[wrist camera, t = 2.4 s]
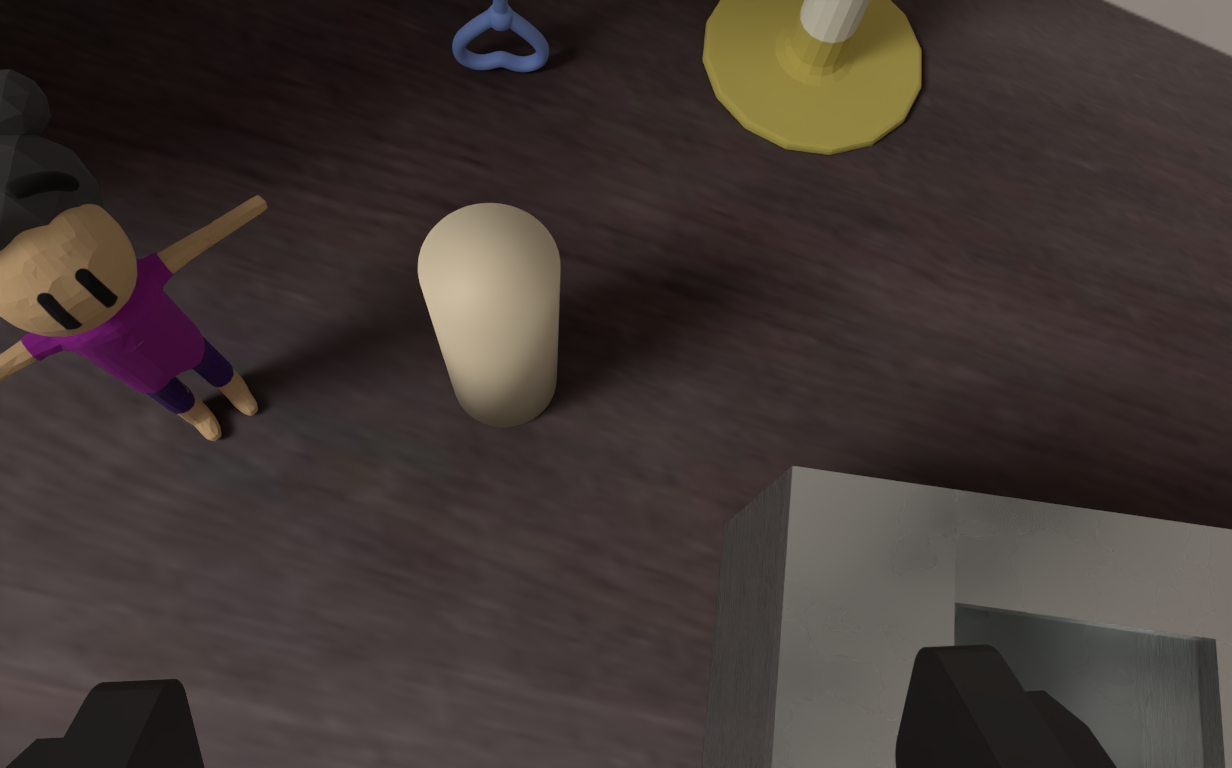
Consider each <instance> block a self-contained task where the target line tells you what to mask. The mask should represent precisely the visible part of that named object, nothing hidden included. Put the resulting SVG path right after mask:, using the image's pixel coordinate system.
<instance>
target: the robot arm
mask: <svg viewBox="0 0 1232 768" xmlns="http://www.w3.org/2000/svg"><path fill="white" fill-rule="evenodd" d="M895 761H896V768H1117V767H1116V765H1115V764H1114V763H1113V761H1112V760H1111V758H1110V757H1109V755H1108V754H1107V753H1106V751H1105V750H1104V748H1103V747H1102V746H1101V744H1100V743H1099V741H1098V740H1097V738H1096V737H1095V736H1094V734H1093V733H1092V731H1091V730H1090V728H1089V727H1088V726H1087V725H1086V724H1085V723H1084V722H1082V721H1081V720H1080V719H1079V718H1077V717H1076V716H1075V715H1074V714H1073V713H1071V712H1070V711H1069V710H1068V709H1066V708H1065V707H1064V706H1063V705H1062V704H1060V703H1059V702H1058V701H1057V700H1055V699H1054V698H1053V697H1052V696H1051V695H1049V694H1048V693H1047V692H1046V691H1044V690H1038V691H1025V690H1024V689H1023V687H1022V686H1021V684H1020V683H1019V681H1018V679H1017V678H1016V676H1015V675H1014V673H1013V672H1012V670H1011V669H1010V667H1009V666H1008V664H1007V663H1006V661H1005V660H1004V658H1003V657H1002V655H1001V654H1000V653H999V651H998V650H997V649H995V648H994V647H993V646H991V645H988V644H980V645H959V646H937V647H923V648H921V649H920V650H919V651H918V653H917V655H916V657H915V661H914V665H913V669H912V674H911V678H910V683H909V687H908V692H907V696H906V700H905V705H904V709H903V714H902V718H901V722H900V727H899V731H898V736H897V741H896V749H895ZM6 768H204V764H203V760H202V756H201V752H200V748H199V744H198V740H197V736H196V732H195V728H194V724H193V720H192V716H191V712H190V708H189V704H188V700H187V696H186V693H185V689H184V687H183V685H182V683H181V682H180V681H179V680H177V679H166V680H145V681H123V682H102V683H100V684H98V685H96V686H95V687H94V688H93V689H92V690H91V691H90V692H89V694H88V696H87V697H86V699H85V700H84V702H83V704H82V706H81V707H80V709H79V711H78V713H77V715H76V716H75V718H74V720H73V722H72V723H71V725H70V727H69V729H68V730H67V732H66V734H65V736H64V738H46V739H36V740H35V741H34V742H33V743H32V744H31V745H30V746H29V747H28V748H26V749H25V750H24V751H23V752H22V753H21V754H20V755H19V756H18V757H17V758H16V759H14V760H13V761H12V762H11V763H10V764H9V765H8V766H7V767H6Z"/></svg>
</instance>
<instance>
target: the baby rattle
mask: <svg viewBox="0 0 1232 768" xmlns="http://www.w3.org/2000/svg"><path fill="white" fill-rule="evenodd" d="M491 27H492V28H493V29H495V30H497V31H505V30H507V29H509V28H510V29H511V30H513V31H514V32H516V33H517V34H519V35H520V36H521V37H522V38H524V39H525V40H526V41H527V42H528V43H530V44H531V45H532V46H533V47H534V49H535V50H536V52H535V53H534V54H532V55H530V56H516V55H513V54H511V53H508V52H505V51H496V52H492V53H488V54H475V53H472V52H470V51H468V50H467V49H466V46H467V45H468V43H469V42H471V41H472V40H473V39H474V38H476V37H477V36H478V35H480V34H481V33H483V32H484V31H486V30H488V29H489V28H491ZM452 50H453V54H454V57H455V58H456V60H457V61H458V62H459V63H460V64H462V65H463V66H465V67H467V68H470V69H474V70H491V69H495V68H499V67H503V68H506V69H509V70H511V71H515V72H532V71H535V70H538V69H540V68H541V67H543V66H544V65H545V64H546V62H547V60H548V57H549V46H548V43H547V41H546V39H545V38H544V36H543V35H542V34H541V33H540V32H539V31H538V30H537V29H536V28H535V27H534V26H533V25H531V24H530V23H529V22H528V21H526V20H525V19H524V18H522V17H521V16H520V15H518V14H517V13H515V12H514V11H512V9H511V7H510V6H509V5H508V0H493V5H491V6H490V8H489V9H488V10H487V11H485V12H483V13H481V14H480V15H478V16H477V17H475V18H474V19H472V20H471V21H469V22H468V23H467V24H466V25H464V26H463V27H462V28H461V29H460V30H459V31H458V32H457V33H456V35H455V37H454V39H453V43H452Z"/></svg>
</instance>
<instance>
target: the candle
mask: <svg viewBox="0 0 1232 768" xmlns="http://www.w3.org/2000/svg"><path fill="white" fill-rule="evenodd" d="M703 63H704V66H705V69H706V71H707V74H708V77H709V79H710V82H711V85H712V87H713V90H714V93H715V95H716V98H717V99H718V100H719V101H720V102H721V103H722V104H723V105H724V106H725V107H726V108H727V109H728V111H729V112H730V113H731V114H732V115H733V116H734V117H735V118H736V119H737V120H738V121H739V122H740V123H741V124H742V126H743V127H744V128H745V129H747V130H749V131H751V132H753V133H755V134H757V135H759V136H761V137H763V138H765V139H767V140H769V141H771V142H773V143H775V144H777V145H779V146H781V147H783V148H785V149H789V150H797V151H804V152H812V153H819V154H826V155H832V154H837V153H841V152H846V151H850V150H854V149H859V148H863V147H868V146H872V145H873V144H874V143H876V142H877V141H879V140H880V139H881V138H883V137H884V136H885V135H887V134H888V133H890V132H891V131H892V130H894V129H895V128H896V127H898V126H899V125H901V124H902V123H903V122H904V120H905V118H906V116H907V114H908V113H909V111H910V109H911V107H912V105H913V103H914V101H915V99H916V97H917V95H918V93H919V91H920V90H921V48H920V45H919V43H918V41H917V39H916V37H915V34H914V32H913V30H912V28H911V26H910V23H909V21H908V19H907V17H906V15H905V14H904V13H903V12H902V11H901V10H900V9H899V8H898V7H897V6H896V5H895V4H894V3H893V2H892V1H891V0H720V2H719V3H718V5H717V6H716V8H715V9H714V11H713V13H712V14H711V16H710V17H709V19H708V20H707V23H706V30H705V40H704V51H703Z"/></svg>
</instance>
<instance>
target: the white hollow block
mask: <svg viewBox="0 0 1232 768" xmlns="http://www.w3.org/2000/svg"><path fill="white" fill-rule="evenodd" d="M980 644H988V645H991V646H993V647H994V648H995V649H997V650H998V651H999V653H1000V654H1001V655H1002V657H1003V658H1004V660H1005V661H1006V663H1007V664H1008V666H1009V667H1010V669H1011V670H1012V672H1013V673H1014V675H1015V676H1016V678H1017V679H1018V681H1019V683H1020V684H1021V686H1022V687H1023V689H1024V690H1025V691H1038V690H1044V691H1046V692H1047V693H1048V694H1049V695H1051V696H1052V697H1053V698H1054V699H1055V700H1057V701H1058V702H1059V703H1060V704H1062V705H1063V706H1064V707H1065V708H1066V709H1068V710H1069V711H1070V712H1071V713H1073V714H1074V715H1075V716H1076V717H1077V718H1079V719H1080V720H1081V721H1082V722H1084V723H1085V724H1086V725H1087V726H1088V727H1089V728H1090V730H1091V731H1092V733H1093V734H1094V736H1095V737H1096V738H1097V740H1098V741H1099V743H1100V744H1101V746H1102V747H1103V748H1104V750H1105V751H1106V753H1107V754H1108V755H1109V757H1110V758H1111V760H1112V761H1113V763H1114V764H1115V765H1116V767H1117V768H1232V530H1231V529H1224V528H1217V527H1210V526H1204V525H1197V524H1190V523H1183V522H1176V521H1169V520H1162V519H1155V518H1148V517H1141V516H1135V515H1128V514H1121V513H1114V512H1107V511H1100V510H1093V509H1086V508H1079V507H1073V506H1066V505H1059V504H1052V503H1045V502H1038V501H1031V500H1024V499H1017V498H1010V497H1004V496H997V495H990V494H983V493H976V492H969V491H962V490H955V489H948V488H942V487H935V486H928V485H921V484H914V483H907V482H900V481H893V480H886V479H879V478H873V477H866V476H859V475H852V474H845V473H838V472H831V471H824V470H817V469H811V468H804V467H797V466H792V467H791V468H790V469H788V470H787V471H786V472H785V473H784V474H783V475H782V476H780V477H779V478H778V479H777V480H776V481H775V482H774V483H772V484H771V485H770V486H769V487H768V488H767V489H766V490H764V491H763V492H762V493H761V494H760V495H759V496H757V497H756V498H755V499H754V500H753V501H752V502H751V503H749V504H748V505H747V506H746V507H745V508H744V509H743V510H741V511H740V512H739V513H738V514H737V515H736V516H735V517H733V518H732V519H731V520H730V521H729V522H728V523H726V524H725V525H724V531H723V542H722V553H721V564H720V575H719V585H718V596H717V607H716V618H715V629H714V639H713V650H712V661H711V672H710V683H709V693H708V704H707V715H706V726H705V736H704V747H703V758H702V768H896V761H895V749H896V741H897V736H898V731H899V727H900V722H901V718H902V714H903V709H904V705H905V700H906V696H907V692H908V687H909V683H910V678H911V674H912V669H913V665H914V661H915V657H916V655H917V653H918V651H919V650H920V649H921V648H923V647H937V646H959V645H980Z"/></svg>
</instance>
